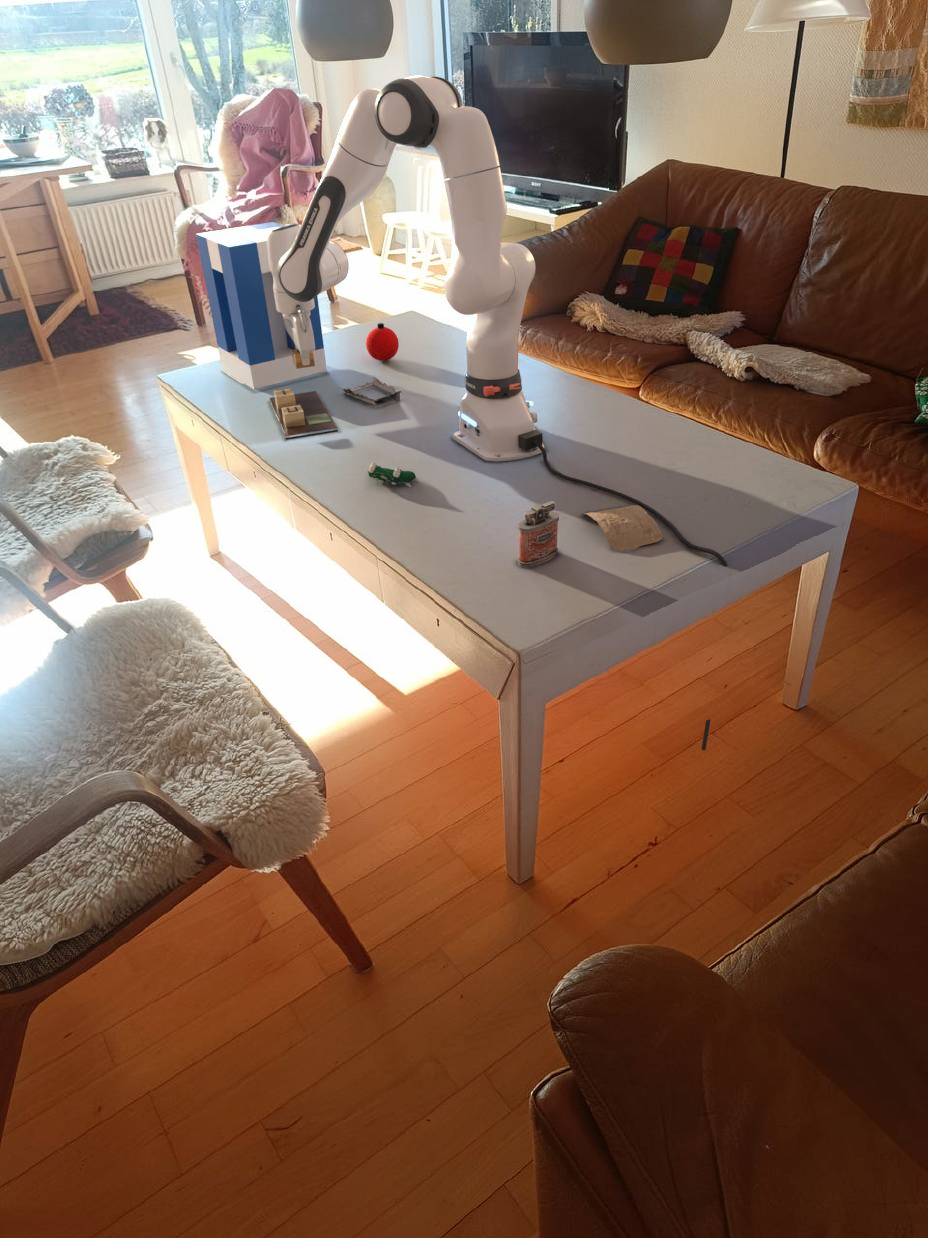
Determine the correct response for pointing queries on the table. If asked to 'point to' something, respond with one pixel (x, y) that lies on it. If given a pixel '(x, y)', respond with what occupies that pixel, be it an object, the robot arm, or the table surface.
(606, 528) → the clay tablet
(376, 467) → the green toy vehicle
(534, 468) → the table surface
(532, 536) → the lighter
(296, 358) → the letter s tile
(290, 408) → the letter board
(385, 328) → the ornament
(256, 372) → the toy block
